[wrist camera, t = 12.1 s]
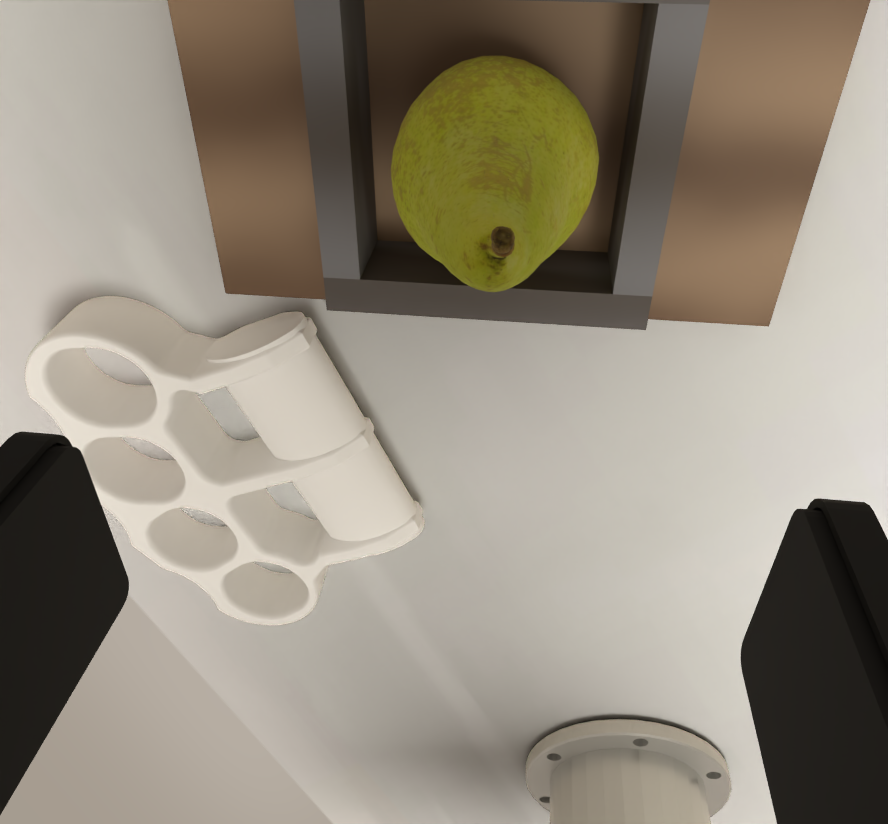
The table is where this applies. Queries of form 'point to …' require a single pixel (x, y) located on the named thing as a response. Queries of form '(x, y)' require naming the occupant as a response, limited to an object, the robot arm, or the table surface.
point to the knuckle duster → (225, 452)
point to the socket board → (600, 93)
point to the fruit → (494, 169)
